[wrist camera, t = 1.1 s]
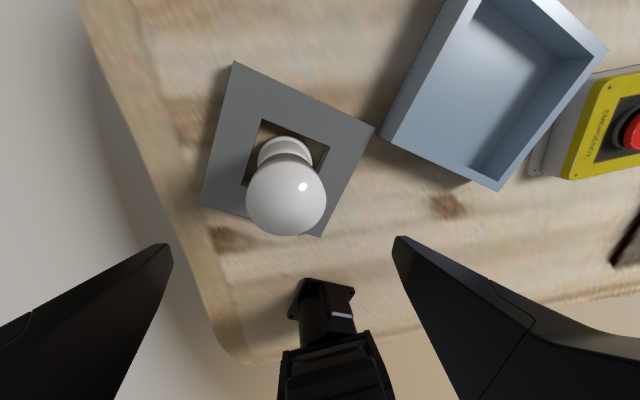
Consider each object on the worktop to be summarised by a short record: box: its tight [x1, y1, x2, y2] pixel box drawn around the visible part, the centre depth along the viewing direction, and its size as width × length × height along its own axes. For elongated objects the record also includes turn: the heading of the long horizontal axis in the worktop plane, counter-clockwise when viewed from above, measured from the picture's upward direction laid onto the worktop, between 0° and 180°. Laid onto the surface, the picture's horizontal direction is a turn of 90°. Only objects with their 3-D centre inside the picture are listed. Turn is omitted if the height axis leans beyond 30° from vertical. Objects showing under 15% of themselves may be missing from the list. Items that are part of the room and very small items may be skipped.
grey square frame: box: [198, 61, 375, 237], centre depth 19 cm, size 11×11×2 cm
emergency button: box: [527, 64, 640, 181], centre depth 21 cm, size 9×4×15 cm
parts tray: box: [377, 0, 610, 192], centre depth 18 cm, size 12×12×3 cm
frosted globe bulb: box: [246, 135, 326, 236], centre depth 16 cm, size 4×4×8 cm
